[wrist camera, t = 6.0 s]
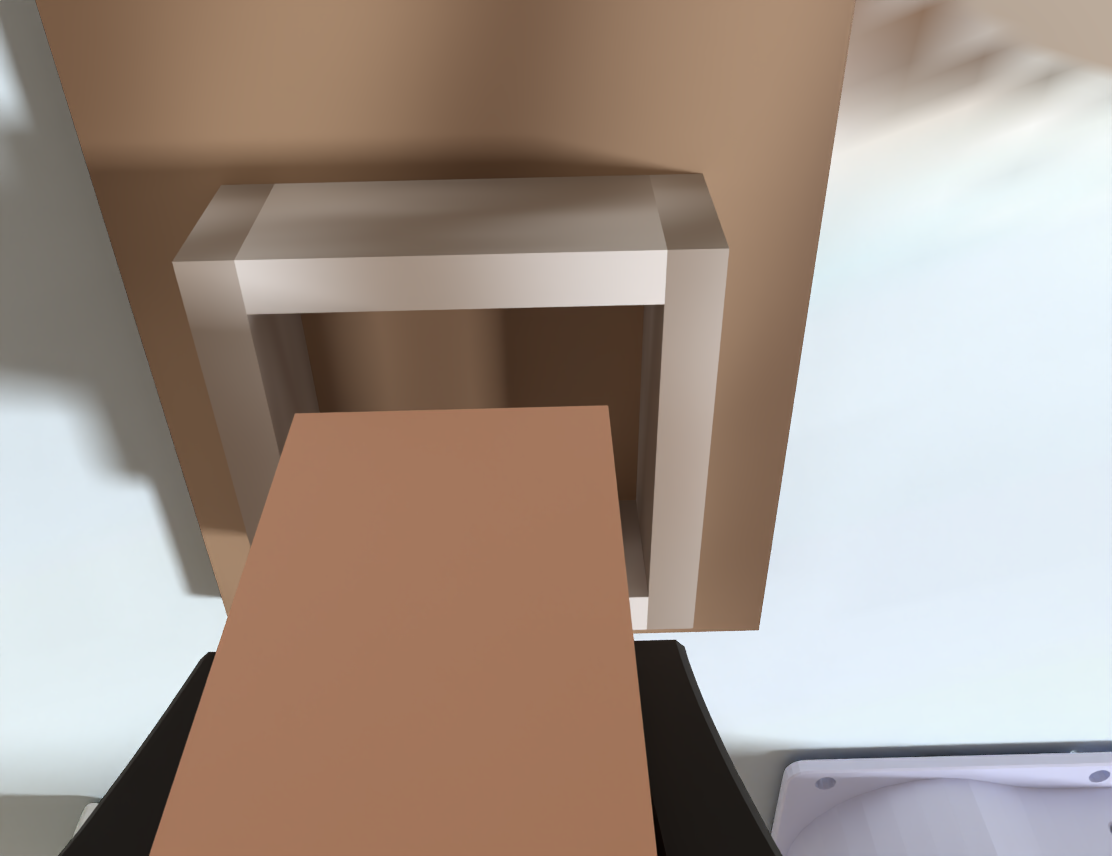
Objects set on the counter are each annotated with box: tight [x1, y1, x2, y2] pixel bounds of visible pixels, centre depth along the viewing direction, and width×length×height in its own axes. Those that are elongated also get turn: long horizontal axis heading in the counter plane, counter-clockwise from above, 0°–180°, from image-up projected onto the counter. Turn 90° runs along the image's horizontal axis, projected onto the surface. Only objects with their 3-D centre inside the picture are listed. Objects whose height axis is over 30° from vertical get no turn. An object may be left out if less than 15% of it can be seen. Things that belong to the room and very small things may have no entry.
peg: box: [149, 405, 657, 856], centre depth 11 cm, size 4×4×8 cm
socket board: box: [35, 0, 856, 633], centre depth 16 cm, size 11×13×4 cm
